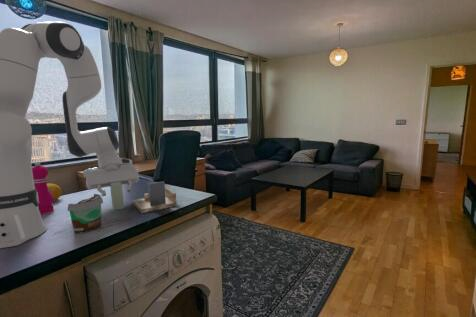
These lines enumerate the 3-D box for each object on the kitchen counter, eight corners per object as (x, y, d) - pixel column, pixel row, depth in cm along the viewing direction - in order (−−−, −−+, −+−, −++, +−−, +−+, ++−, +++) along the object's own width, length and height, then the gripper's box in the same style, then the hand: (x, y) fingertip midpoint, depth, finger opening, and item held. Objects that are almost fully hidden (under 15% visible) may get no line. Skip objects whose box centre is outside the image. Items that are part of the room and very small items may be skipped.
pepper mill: (37, 209, 110) (30, 161, 107) (57, 207, 112) (51, 159, 109) (29, 215, 103) (22, 164, 100) (51, 213, 105) (44, 162, 102)
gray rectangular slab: (150, 206, 106) (149, 184, 105) (150, 205, 107) (148, 183, 106) (165, 203, 110) (164, 181, 108) (164, 202, 111) (163, 181, 109)
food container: (87, 236, 84) (83, 205, 83) (70, 235, 85) (66, 204, 84) (113, 221, 96) (110, 194, 95) (97, 220, 97) (95, 193, 96)
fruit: (52, 197, 126) (50, 181, 125) (66, 198, 124) (64, 181, 123) (34, 203, 118) (31, 185, 117) (48, 205, 116) (45, 186, 114)
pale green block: (114, 209, 108) (112, 185, 106) (112, 206, 112) (110, 183, 110) (124, 208, 110) (121, 184, 108) (121, 205, 114) (119, 181, 112)
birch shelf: (141, 213, 103) (140, 199, 103) (132, 203, 115) (131, 191, 114) (176, 205, 111) (175, 192, 110) (165, 197, 123) (164, 185, 122)
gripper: (82, 164, 108) (87, 193, 102) (135, 159, 120) (143, 185, 113) (82, 173, 113) (87, 202, 106) (133, 167, 124) (141, 193, 118)
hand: (116, 193), depth 110 cm, fingers open, 8 cm apart
